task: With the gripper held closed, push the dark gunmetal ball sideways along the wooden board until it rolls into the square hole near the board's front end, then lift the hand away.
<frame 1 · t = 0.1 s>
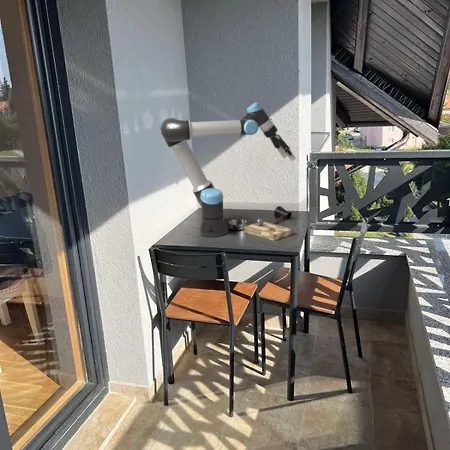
hand: (289, 158, 248), 36 cm above the table, tool tilted 35°, fingers open, 13 cm apart
wooden board: (267, 233, 233), on the table
coffee pot: (278, 221, 257), on the table
steel ball: (259, 222, 236), point 5 cm above the table, touching wooden board
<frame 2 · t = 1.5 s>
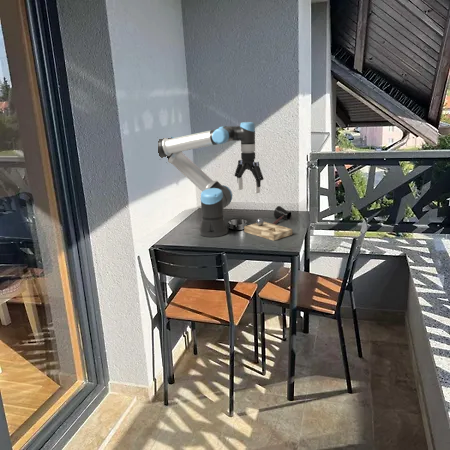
hand: (248, 191, 239), 21 cm above the table, tool pointing down, fingers open, 13 cm apart
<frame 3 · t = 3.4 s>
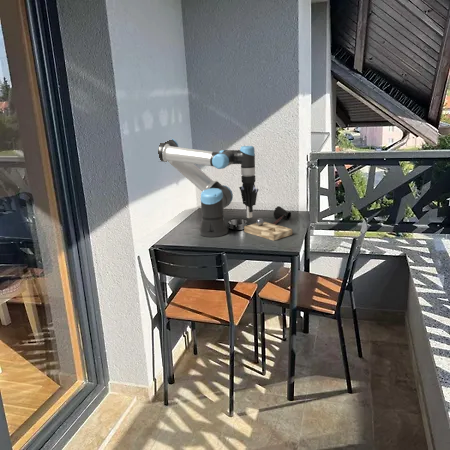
hand: (249, 217, 242), 6 cm above the table, tool pointing down, fingers closed
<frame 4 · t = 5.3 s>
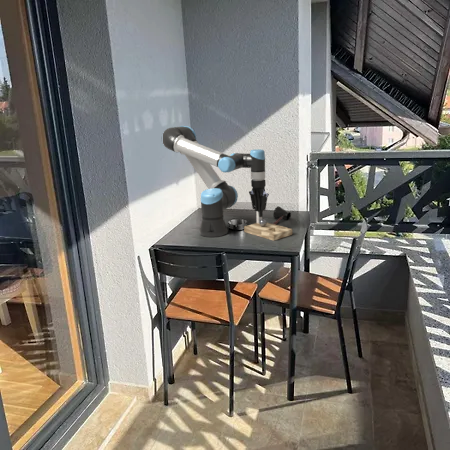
hand: (259, 222, 237), 5 cm above the table, tool pointing down, fingers closed
steel ball: (262, 222, 235), point 5 cm above the table, tilted 61°, touching wooden board
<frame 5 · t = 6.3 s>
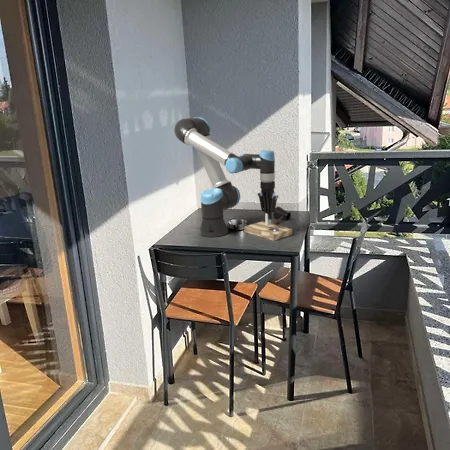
hand: (268, 224, 232), 5 cm above the table, tool pointing down, fingers closed
steel ball: (275, 231, 229), point 2 cm above the table, tilted 6°
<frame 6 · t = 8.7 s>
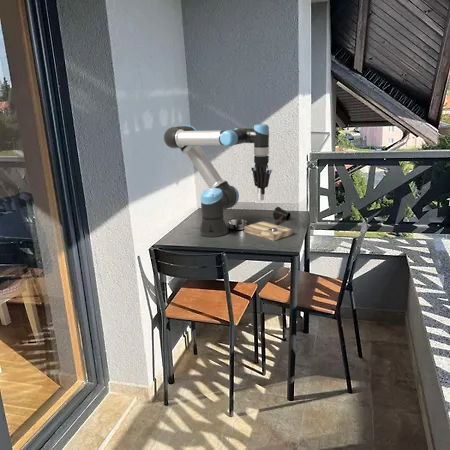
hand: (261, 200, 232), 17 cm above the table, tool pointing down, fingers closed
steel ball: (274, 231, 230), point 2 cm above the table, tilted 30°
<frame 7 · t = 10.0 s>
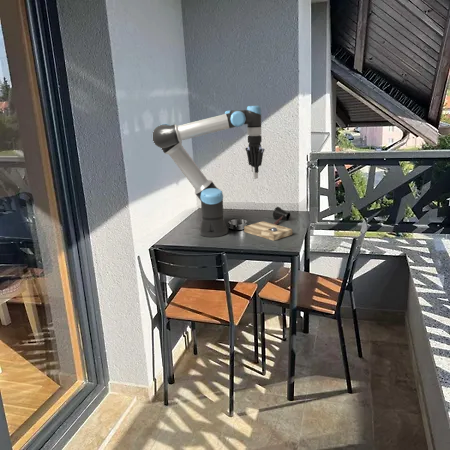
hand: (255, 178, 244), 26 cm above the table, tool pointing down, fingers closed
steel ball: (273, 231, 230), point 2 cm above the table, tilted 35°
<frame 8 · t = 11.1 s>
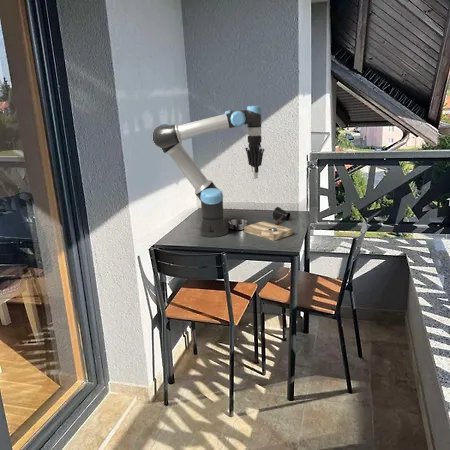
hand: (255, 178, 244), 26 cm above the table, tool pointing down, fingers closed
at the end: steel ball 0.7 cm from the target spot on the wooden board, point 2.0 cm above the wooden board's base; the gripper is holding nothing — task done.
